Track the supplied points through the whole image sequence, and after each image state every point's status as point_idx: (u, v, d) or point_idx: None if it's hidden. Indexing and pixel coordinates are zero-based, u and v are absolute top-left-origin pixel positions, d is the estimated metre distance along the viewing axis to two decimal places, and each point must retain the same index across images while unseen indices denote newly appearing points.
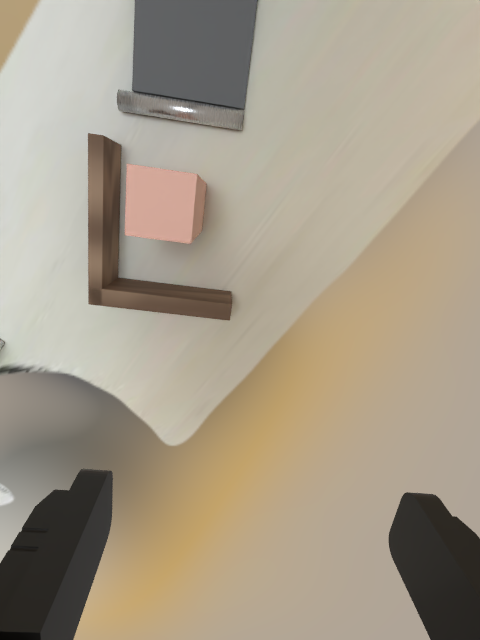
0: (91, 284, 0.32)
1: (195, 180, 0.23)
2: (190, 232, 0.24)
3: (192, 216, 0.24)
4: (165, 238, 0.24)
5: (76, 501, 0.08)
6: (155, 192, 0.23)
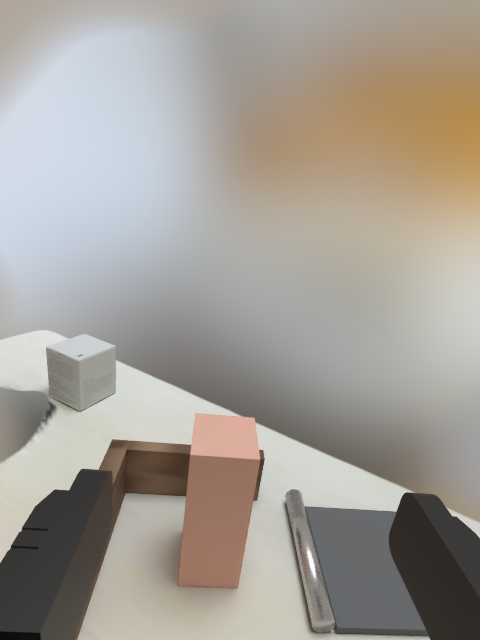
0: (132, 442, 0.32)
1: (254, 458, 0.22)
2: (202, 454, 0.22)
3: (218, 456, 0.22)
4: (194, 437, 0.24)
5: (76, 501, 0.08)
6: (236, 432, 0.25)
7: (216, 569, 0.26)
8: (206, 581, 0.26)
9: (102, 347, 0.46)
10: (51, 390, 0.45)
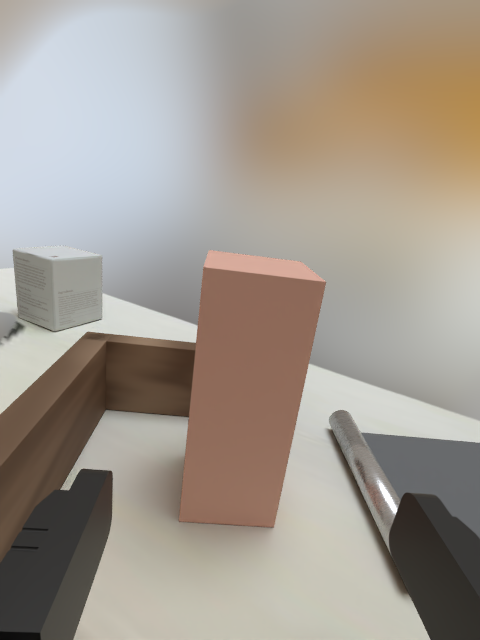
0: (115, 336, 0.23)
1: (315, 280, 0.13)
2: (224, 269, 0.13)
3: (253, 274, 0.13)
4: (209, 259, 0.14)
5: (76, 501, 0.08)
6: (276, 264, 0.15)
7: (241, 493, 0.16)
8: (224, 514, 0.16)
9: (85, 254, 0.36)
10: (20, 308, 0.36)
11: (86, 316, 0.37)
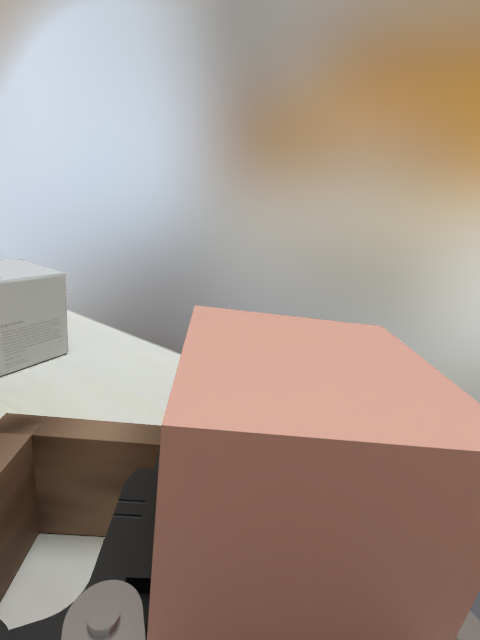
0: (50, 421, 0.14)
1: None
2: (231, 426, 0.04)
3: (324, 438, 0.04)
4: (189, 357, 0.05)
5: None
6: (350, 352, 0.06)
7: None
8: None
9: (42, 272, 0.27)
10: None
11: (45, 352, 0.28)
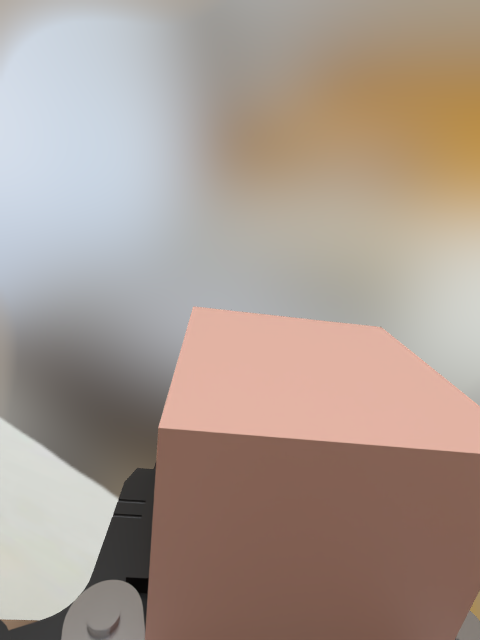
0: None
1: None
2: (228, 428, 0.04)
3: (321, 441, 0.04)
4: (187, 359, 0.05)
5: None
6: (349, 353, 0.06)
7: None
8: None
9: None
10: None
11: None
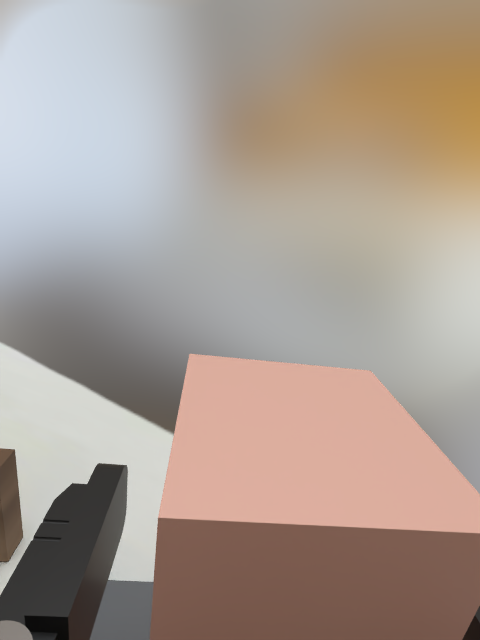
0: None
1: None
2: (223, 514, 0.04)
3: (309, 523, 0.04)
4: (184, 425, 0.06)
5: (95, 494, 0.08)
6: (338, 408, 0.07)
7: None
8: None
9: None
10: None
11: None
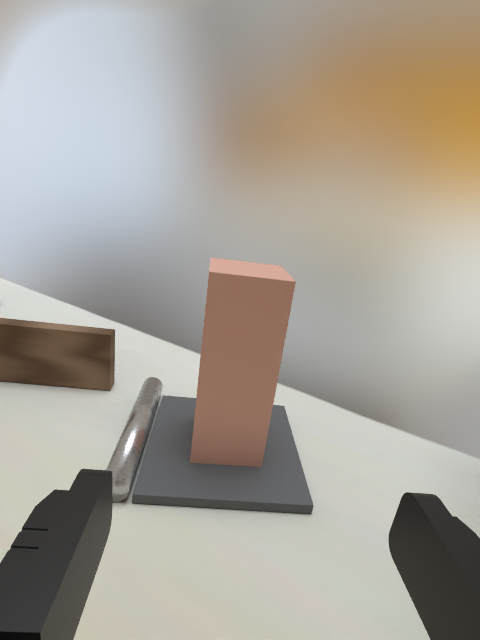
0: None
1: (287, 280, 0.18)
2: (224, 273, 0.18)
3: (244, 276, 0.18)
4: (212, 265, 0.19)
5: (76, 501, 0.08)
6: (261, 268, 0.20)
7: (237, 440, 0.21)
8: (224, 457, 0.22)
9: None
10: None
11: None
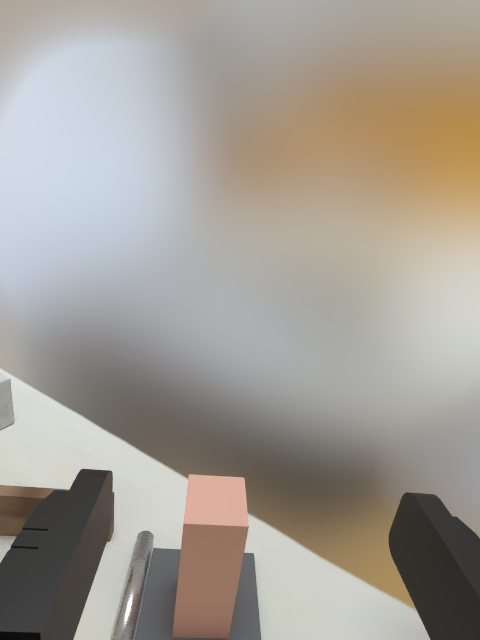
0: None
1: (242, 525, 0.24)
2: (194, 522, 0.24)
3: (210, 524, 0.24)
4: (187, 502, 0.25)
5: (76, 501, 0.08)
6: (226, 495, 0.27)
7: (208, 622, 0.27)
8: (199, 633, 0.28)
9: None
10: None
11: None
